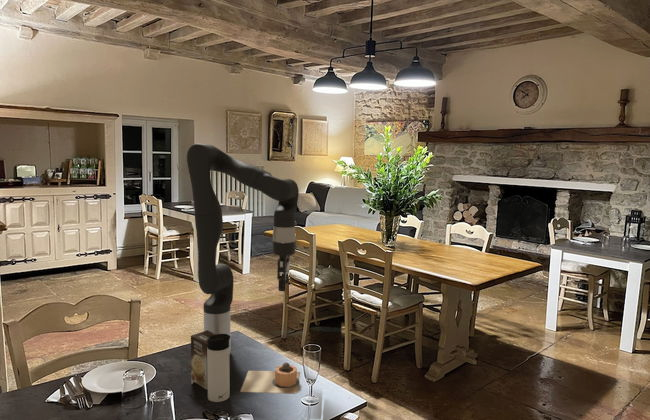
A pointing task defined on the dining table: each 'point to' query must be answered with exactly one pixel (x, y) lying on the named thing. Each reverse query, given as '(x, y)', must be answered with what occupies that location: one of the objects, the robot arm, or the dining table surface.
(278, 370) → the ring
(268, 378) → the post board
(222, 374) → the travel mug
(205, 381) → the coffee box
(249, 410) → the dining table surface
